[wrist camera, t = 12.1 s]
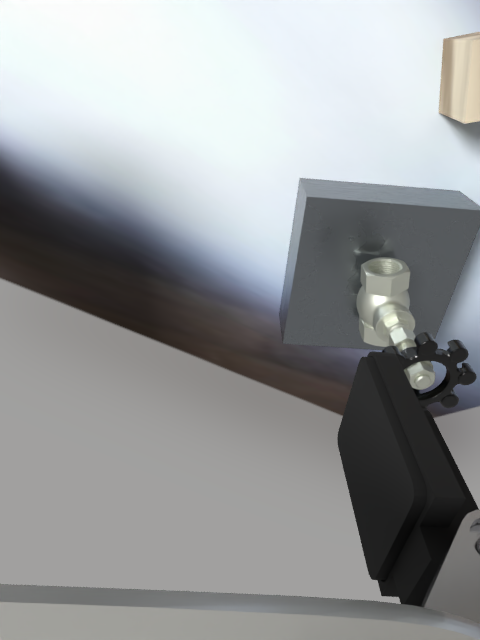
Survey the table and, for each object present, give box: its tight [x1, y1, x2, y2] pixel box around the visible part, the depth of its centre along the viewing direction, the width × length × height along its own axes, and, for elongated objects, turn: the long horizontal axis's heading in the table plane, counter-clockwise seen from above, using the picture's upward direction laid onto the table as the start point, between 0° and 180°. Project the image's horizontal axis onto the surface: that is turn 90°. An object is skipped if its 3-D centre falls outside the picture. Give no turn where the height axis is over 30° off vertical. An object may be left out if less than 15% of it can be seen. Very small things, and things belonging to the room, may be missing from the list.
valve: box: [356, 257, 476, 410], centre depth 33 cm, size 7×7×12 cm
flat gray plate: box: [279, 178, 480, 350], centre depth 40 cm, size 14×14×5 cm
